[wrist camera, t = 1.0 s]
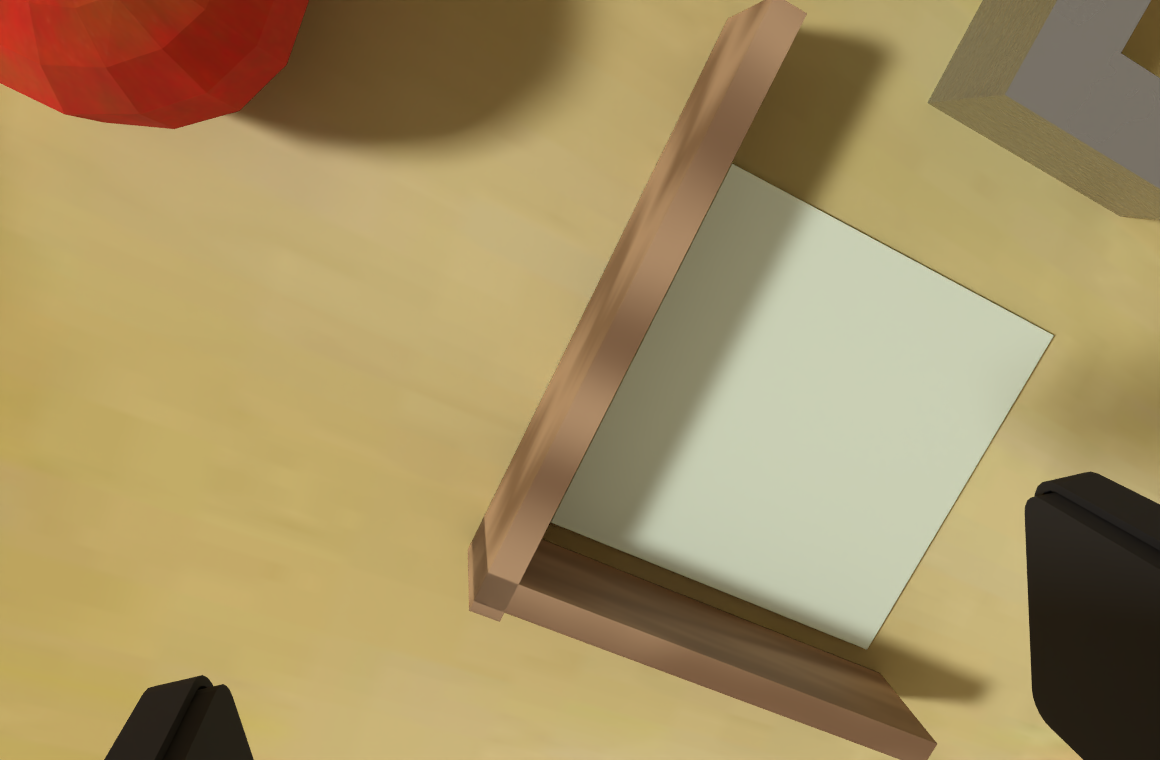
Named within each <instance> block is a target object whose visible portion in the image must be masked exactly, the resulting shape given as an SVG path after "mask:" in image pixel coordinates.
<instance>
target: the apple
mask: <svg viewBox="0 0 1160 760" xmlns="http://www.w3.org/2000/svg"><path fill="white" fill-rule="evenodd" d="M308 2H309V0H0V83H1V84H3V85H5V86H7V87H9V88H12V89H14V90H16V91H18V92H20V93H22V94H24V95H26V96H28V97H30V98H32V99H34V100H36V101H38V102H40V103H43V104H45V105H47V106H49V107H51V108H53V109H55V110H57V111H59V112H61V113H63V114H66V115H71V116H76V117H80V118H85V119H90V120H95V121H100V122H106V123H116V124H127V125H138V126H149V127H159V128H170V129H176V128H179V127H183V126H187V125H190V124H194V123H197V122H201V121H205V120H208V119H212V118H215V117H219V116H223V115H226V114H230V113H233V112H237V111H240V110H241V109H242V108H243V107H244V106H245V105H246V104H247V103H248V102H249V101H250V100H251V99H252V98H253V97H254V96H255V95H256V94H257V93H258V92H259V91H260V90H261V89H262V88H263V87H264V86H265V85H266V84H267V83H268V82H269V81H270V80H271V79H272V78H273V77H274V76H276V75H277V74H278V73H279V72H280V71H281V70H282V69H283V68H284V67H285V66H286V65H287V62H288V59H289V56H290V54H291V51H292V48H293V45H294V42H295V39H296V36H297V34H298V31H299V28H300V25H301V22H302V19H303V16H304V13H305V11H306V8H307V5H308Z"/></svg>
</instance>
